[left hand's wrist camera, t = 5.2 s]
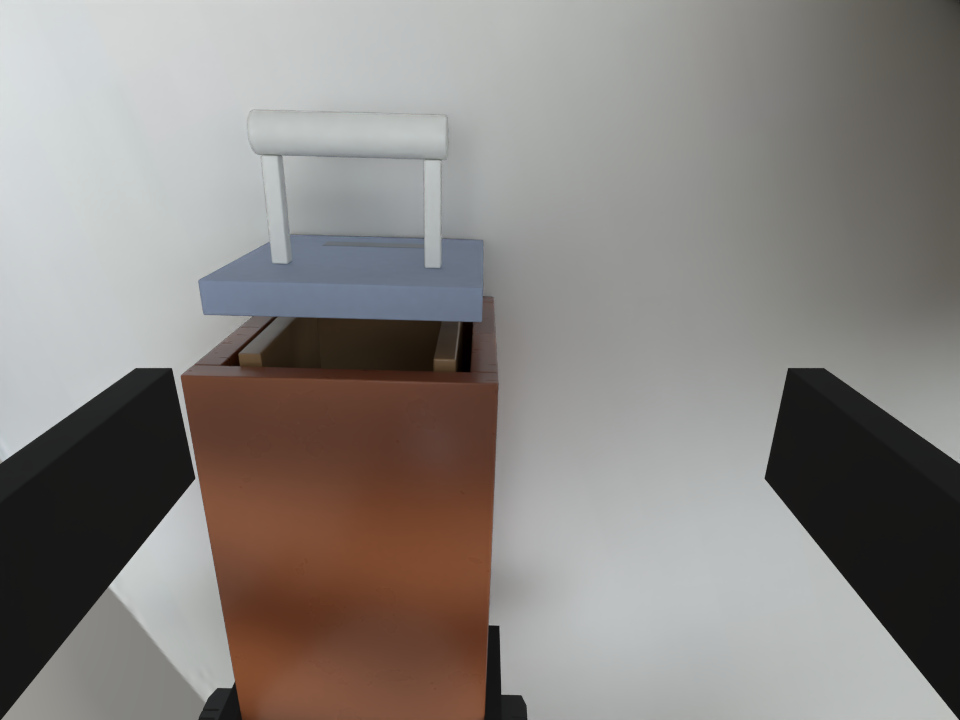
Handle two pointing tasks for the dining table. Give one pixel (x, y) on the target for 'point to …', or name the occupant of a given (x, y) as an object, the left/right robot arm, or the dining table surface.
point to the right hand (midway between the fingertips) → (381, 642)
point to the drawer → (352, 260)
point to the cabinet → (350, 529)
